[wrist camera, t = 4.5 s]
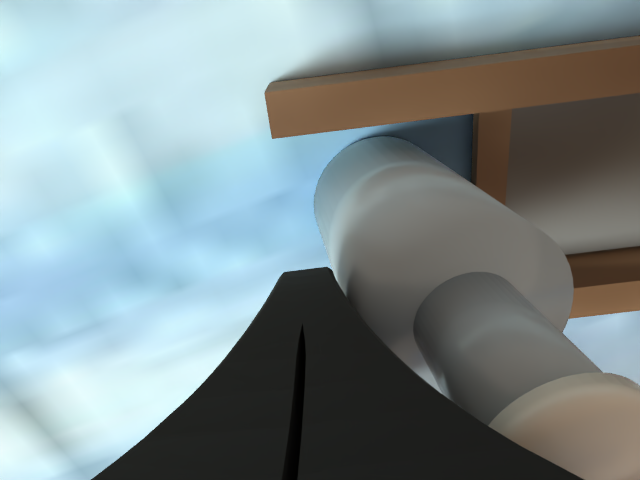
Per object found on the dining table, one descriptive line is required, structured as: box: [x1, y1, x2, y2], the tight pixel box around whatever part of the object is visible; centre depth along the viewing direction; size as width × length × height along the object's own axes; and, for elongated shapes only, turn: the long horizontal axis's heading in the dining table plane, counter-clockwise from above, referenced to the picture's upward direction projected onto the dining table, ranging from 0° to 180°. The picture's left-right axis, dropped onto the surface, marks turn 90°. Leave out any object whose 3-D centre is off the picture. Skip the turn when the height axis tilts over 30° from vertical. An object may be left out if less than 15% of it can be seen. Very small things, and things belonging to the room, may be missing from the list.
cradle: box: [265, 35, 640, 319], centre depth 14 cm, size 8×21×4 cm, turn 97°
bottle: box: [314, 136, 640, 480], centre depth 10 cm, size 4×4×11 cm
